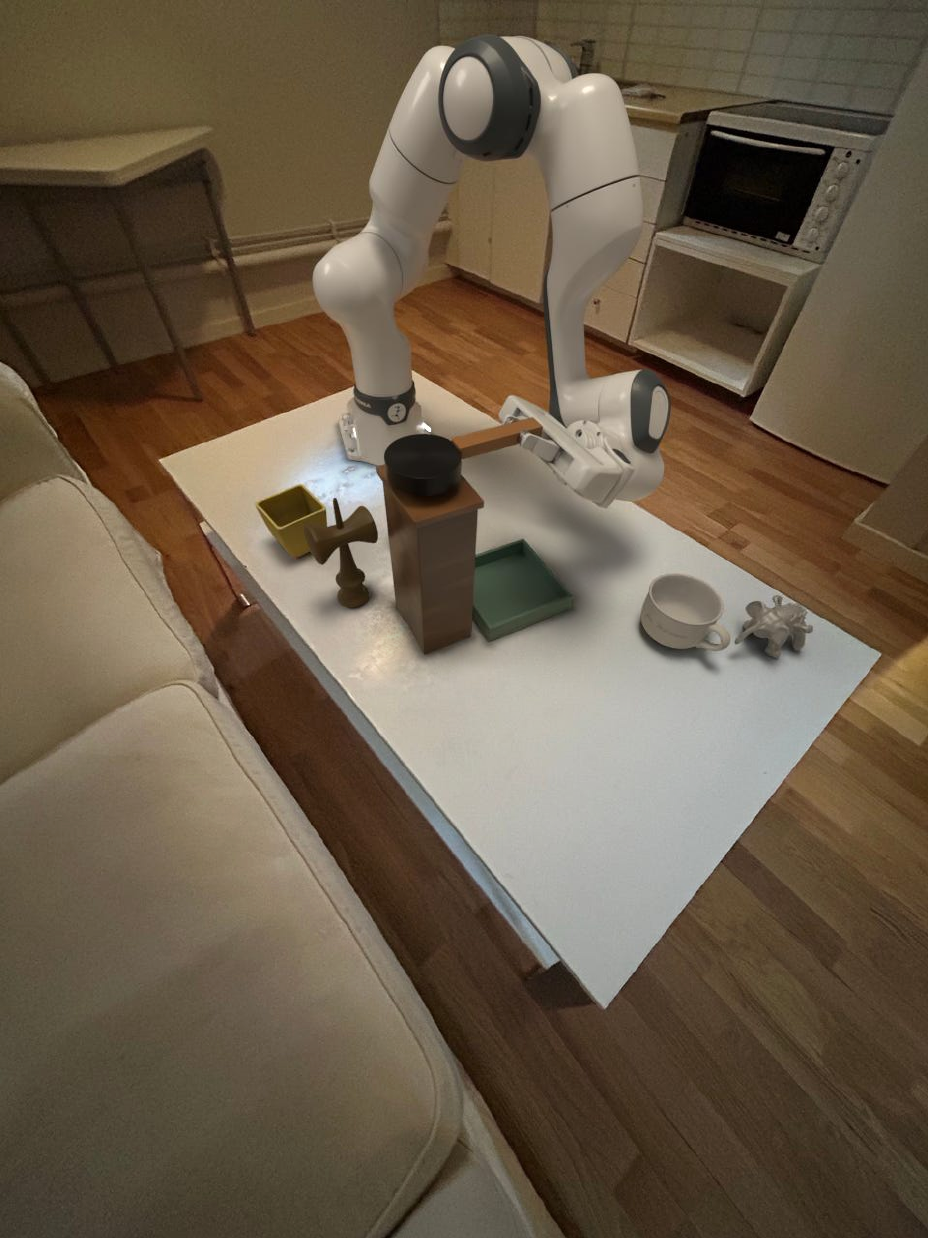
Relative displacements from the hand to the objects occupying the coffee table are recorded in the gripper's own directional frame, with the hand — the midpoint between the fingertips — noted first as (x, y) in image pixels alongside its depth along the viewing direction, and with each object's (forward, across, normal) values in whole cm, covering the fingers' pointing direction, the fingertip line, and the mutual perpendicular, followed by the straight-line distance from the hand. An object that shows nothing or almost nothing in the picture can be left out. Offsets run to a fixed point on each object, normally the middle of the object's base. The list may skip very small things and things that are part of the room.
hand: (513, 430), depth 66 cm
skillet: (+5, 0, +5) cm, 7 cm away
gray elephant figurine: (-43, +27, +10) cm, 52 cm away
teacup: (-33, +20, +16) cm, 42 cm away
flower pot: (+7, -26, +39) cm, 47 cm away
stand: (-5, 0, +32) cm, 32 cm away
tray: (-17, 0, +25) cm, 30 cm away
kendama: (+3, -10, +37) cm, 38 cm away
